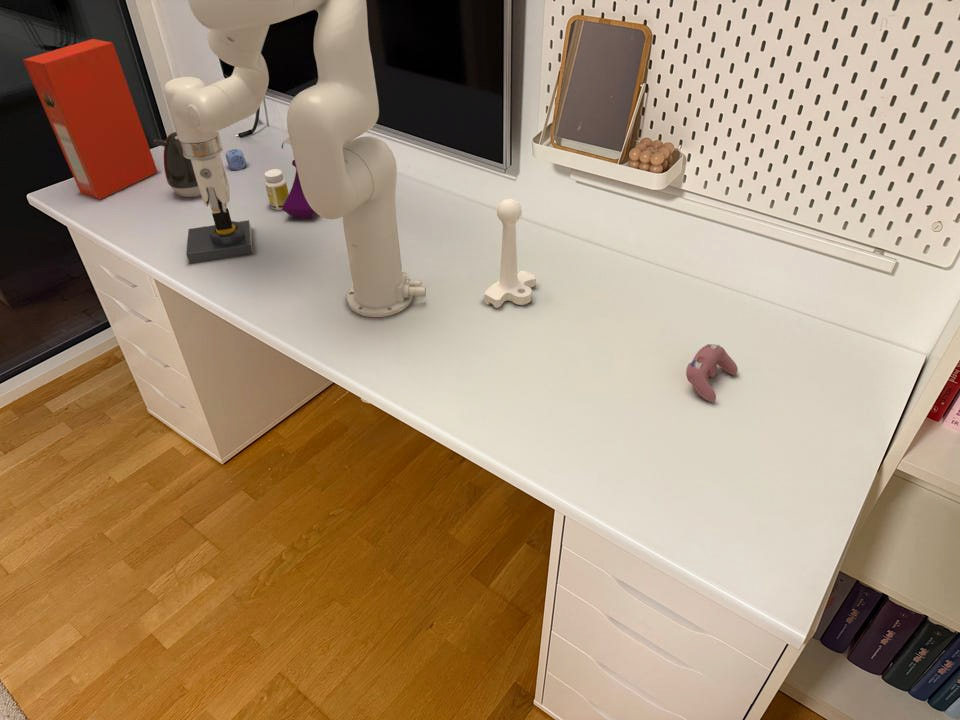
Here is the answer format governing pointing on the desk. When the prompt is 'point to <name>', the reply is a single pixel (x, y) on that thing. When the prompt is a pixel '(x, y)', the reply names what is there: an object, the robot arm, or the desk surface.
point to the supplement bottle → (276, 188)
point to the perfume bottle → (297, 198)
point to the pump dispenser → (178, 167)
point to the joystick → (510, 262)
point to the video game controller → (708, 369)
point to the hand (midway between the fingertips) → (224, 227)
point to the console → (219, 243)
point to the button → (226, 230)
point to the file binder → (92, 116)
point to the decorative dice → (235, 159)
